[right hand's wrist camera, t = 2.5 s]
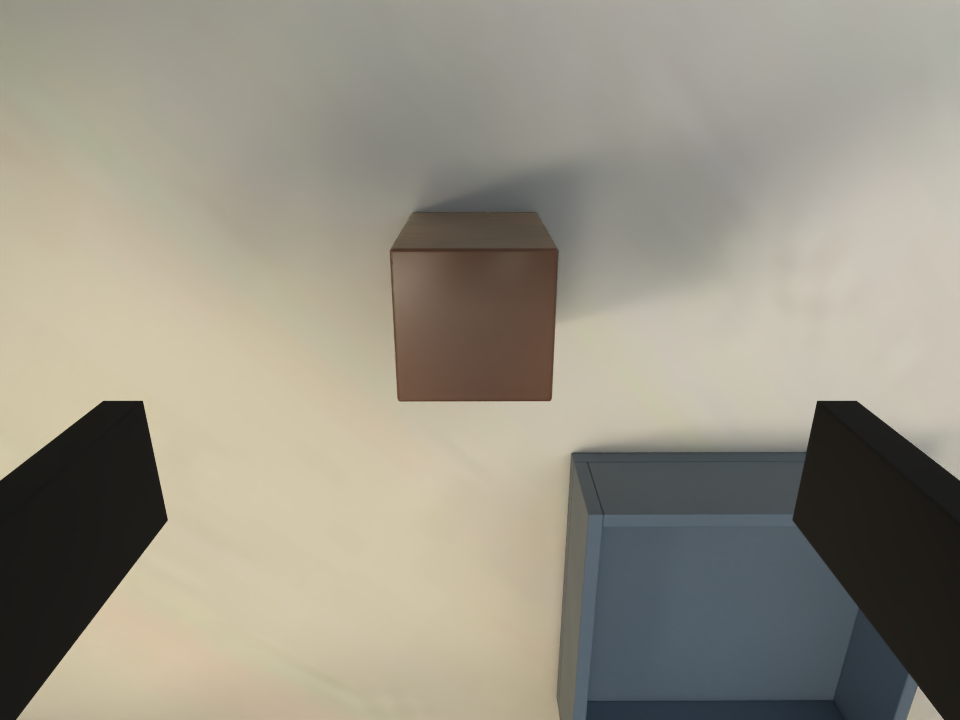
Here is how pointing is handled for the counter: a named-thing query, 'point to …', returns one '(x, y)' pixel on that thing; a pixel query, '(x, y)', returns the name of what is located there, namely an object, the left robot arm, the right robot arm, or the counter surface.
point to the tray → (709, 599)
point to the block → (474, 307)
